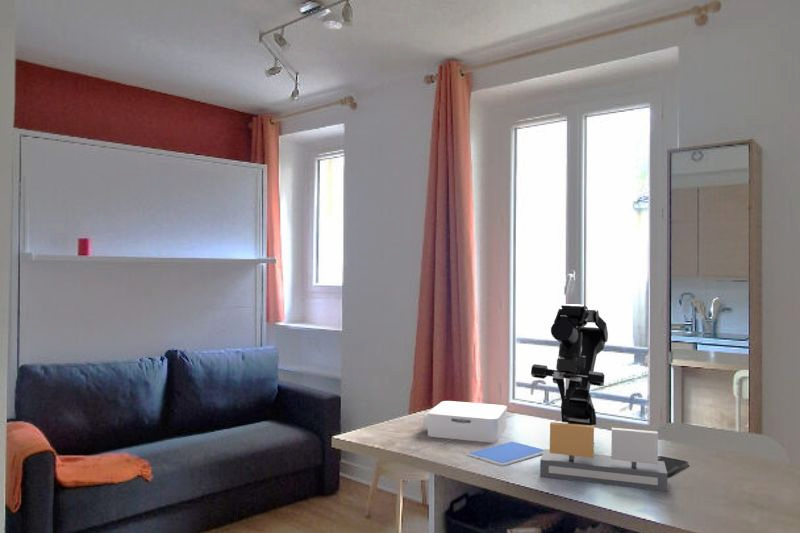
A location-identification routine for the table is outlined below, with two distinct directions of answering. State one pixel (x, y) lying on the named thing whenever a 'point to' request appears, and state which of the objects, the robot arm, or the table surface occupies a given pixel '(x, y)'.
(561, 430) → the amber toggle
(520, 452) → the tablet computer
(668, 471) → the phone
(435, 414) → the projector
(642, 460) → the grey toggle
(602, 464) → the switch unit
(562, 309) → the robot arm
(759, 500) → the table surface
